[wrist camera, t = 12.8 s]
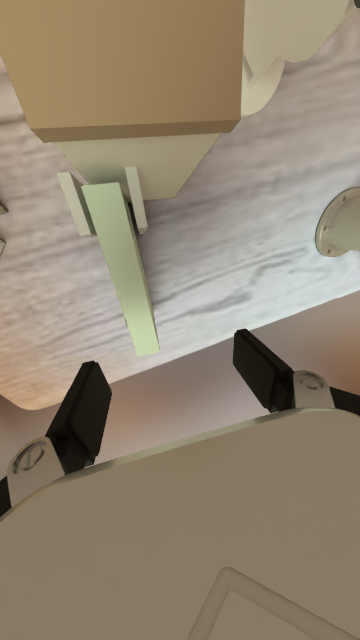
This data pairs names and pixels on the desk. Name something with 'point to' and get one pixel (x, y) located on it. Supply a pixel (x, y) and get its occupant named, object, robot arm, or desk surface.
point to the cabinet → (126, 88)
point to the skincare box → (1, 246)
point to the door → (123, 261)
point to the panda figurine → (283, 41)
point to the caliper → (3, 210)
